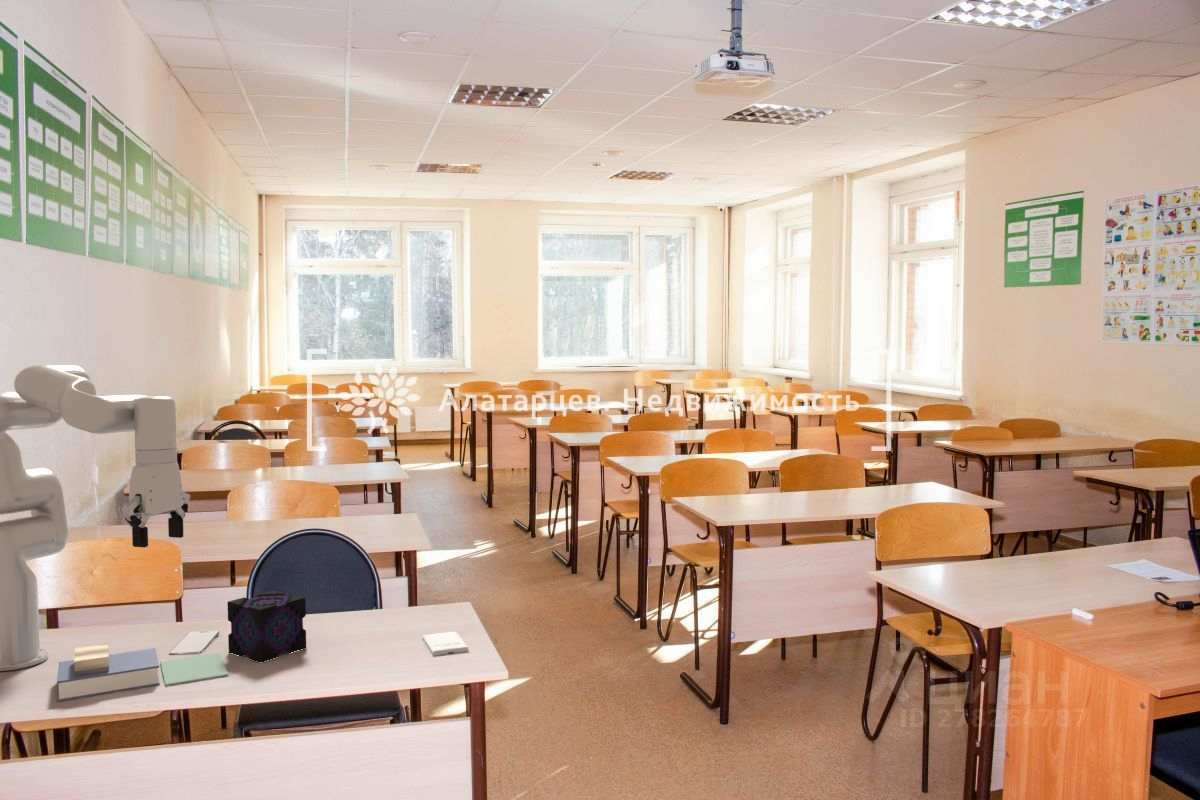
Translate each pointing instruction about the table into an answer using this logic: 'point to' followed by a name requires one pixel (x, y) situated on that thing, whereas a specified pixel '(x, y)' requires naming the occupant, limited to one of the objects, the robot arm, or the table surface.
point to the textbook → (110, 675)
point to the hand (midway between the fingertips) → (158, 541)
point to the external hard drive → (444, 643)
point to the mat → (193, 669)
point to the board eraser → (91, 659)
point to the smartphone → (194, 642)
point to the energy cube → (266, 625)
